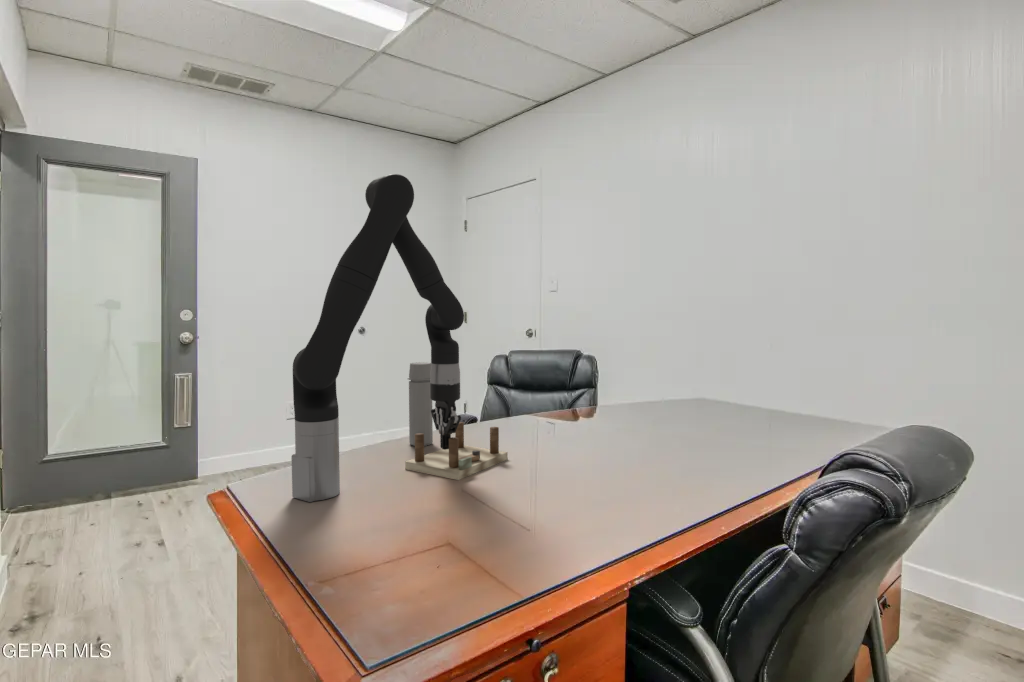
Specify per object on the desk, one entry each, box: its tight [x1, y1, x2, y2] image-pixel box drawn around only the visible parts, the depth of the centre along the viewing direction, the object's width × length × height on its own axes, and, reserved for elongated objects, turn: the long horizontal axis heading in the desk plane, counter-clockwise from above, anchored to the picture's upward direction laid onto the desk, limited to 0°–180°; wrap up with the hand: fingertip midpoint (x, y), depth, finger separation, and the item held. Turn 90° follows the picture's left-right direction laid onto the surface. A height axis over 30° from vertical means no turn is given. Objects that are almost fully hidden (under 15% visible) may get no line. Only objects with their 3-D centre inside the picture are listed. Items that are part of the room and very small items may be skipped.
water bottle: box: [407, 361, 434, 447], centre depth 170 cm, size 9×8×25 cm
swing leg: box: [449, 436, 480, 468], centre depth 141 cm, size 11×2×7 cm, turn 143°
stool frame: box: [404, 421, 509, 481], centre depth 148 cm, size 22×17×9 cm
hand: (445, 448), depth 141 cm, fingers closed
